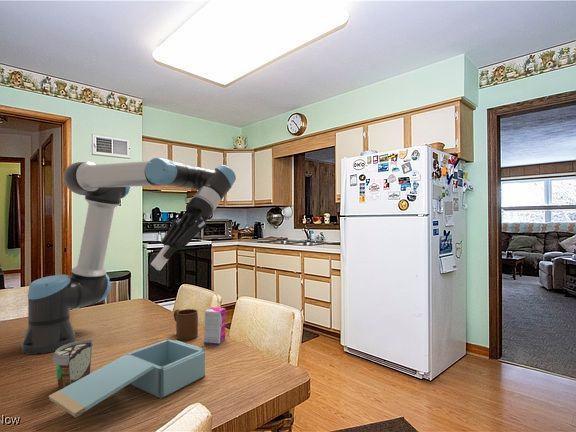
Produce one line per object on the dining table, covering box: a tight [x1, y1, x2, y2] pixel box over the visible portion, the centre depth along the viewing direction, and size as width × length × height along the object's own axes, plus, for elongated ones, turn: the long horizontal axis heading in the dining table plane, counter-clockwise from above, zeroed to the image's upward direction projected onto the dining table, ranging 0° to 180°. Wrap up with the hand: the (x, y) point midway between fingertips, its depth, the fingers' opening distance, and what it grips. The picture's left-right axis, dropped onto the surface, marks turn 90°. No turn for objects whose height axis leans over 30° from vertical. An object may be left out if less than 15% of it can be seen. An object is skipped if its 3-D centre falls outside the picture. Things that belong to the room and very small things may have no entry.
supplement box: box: [203, 306, 227, 346], centre depth 118 cm, size 6×6×12 cm
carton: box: [124, 338, 206, 399], centre depth 91 cm, size 15×17×7 cm
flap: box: [48, 354, 154, 418], centre depth 77 cm, size 1×12×18 cm
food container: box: [52, 339, 94, 391], centre depth 87 cm, size 12×6×10 cm, turn 5°
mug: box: [173, 308, 199, 341], centre depth 124 cm, size 12×8×9 cm, turn 51°
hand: (155, 267), depth 89 cm, fingers closed
